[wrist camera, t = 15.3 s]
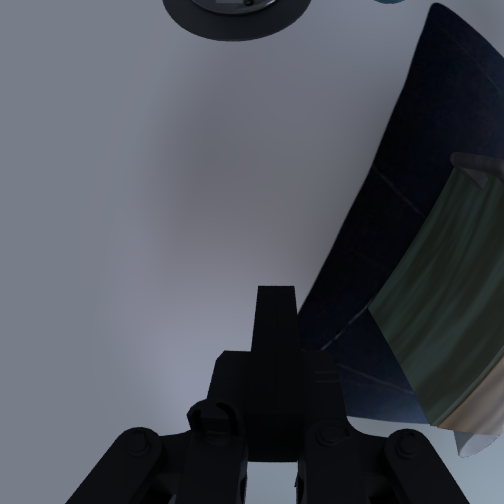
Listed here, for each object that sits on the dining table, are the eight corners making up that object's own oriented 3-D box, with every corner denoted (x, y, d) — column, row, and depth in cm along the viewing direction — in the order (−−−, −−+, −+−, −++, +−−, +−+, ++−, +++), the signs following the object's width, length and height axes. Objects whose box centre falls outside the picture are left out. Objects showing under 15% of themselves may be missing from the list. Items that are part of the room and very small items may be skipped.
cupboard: (372, 310, 45) (437, 428, 22) (459, 168, 37) (584, 205, 14) (437, 343, 47) (498, 436, 24) (512, 227, 39) (607, 280, 16)
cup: (424, 412, 54) (446, 462, 39) (453, 369, 50) (485, 419, 35) (462, 408, 55) (485, 451, 40) (489, 367, 50) (521, 410, 35)
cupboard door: (338, 292, 44) (393, 417, 21) (429, 140, 35) (560, 156, 13) (371, 309, 45) (435, 426, 22) (459, 167, 36) (582, 203, 14)
